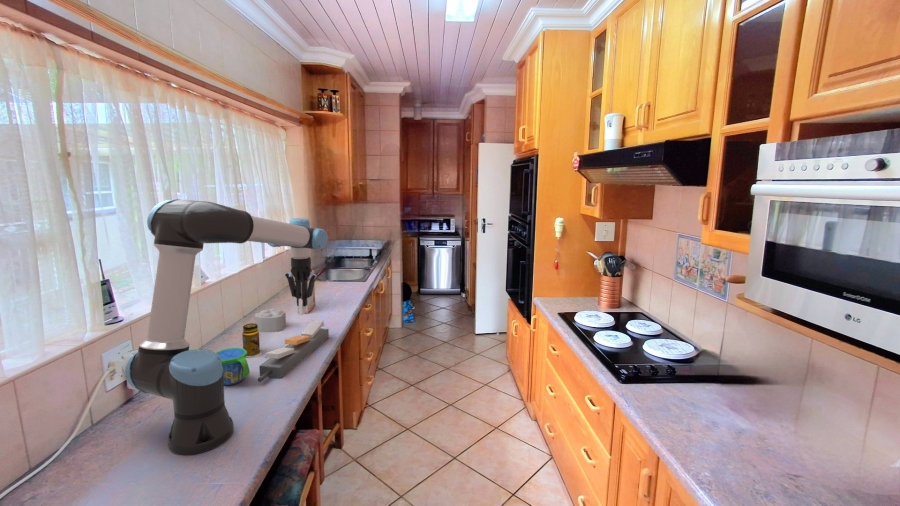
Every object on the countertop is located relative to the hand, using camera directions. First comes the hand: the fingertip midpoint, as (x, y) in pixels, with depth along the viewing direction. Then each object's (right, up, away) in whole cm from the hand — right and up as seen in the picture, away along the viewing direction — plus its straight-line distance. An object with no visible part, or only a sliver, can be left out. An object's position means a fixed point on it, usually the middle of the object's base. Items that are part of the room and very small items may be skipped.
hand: (302, 313), depth 166 cm
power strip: (-2, -17, -5) cm, 18 cm away
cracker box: (-18, -6, +55) cm, 59 cm away
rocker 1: (-3, -13, -15) cm, 20 cm away
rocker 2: (-1, -11, -3) cm, 11 cm away
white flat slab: (+1, -8, +10) cm, 13 cm away
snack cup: (-16, -20, -25) cm, 35 cm away
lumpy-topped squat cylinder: (-25, -11, +26) cm, 38 cm away
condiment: (-21, -16, -2) cm, 26 cm away
